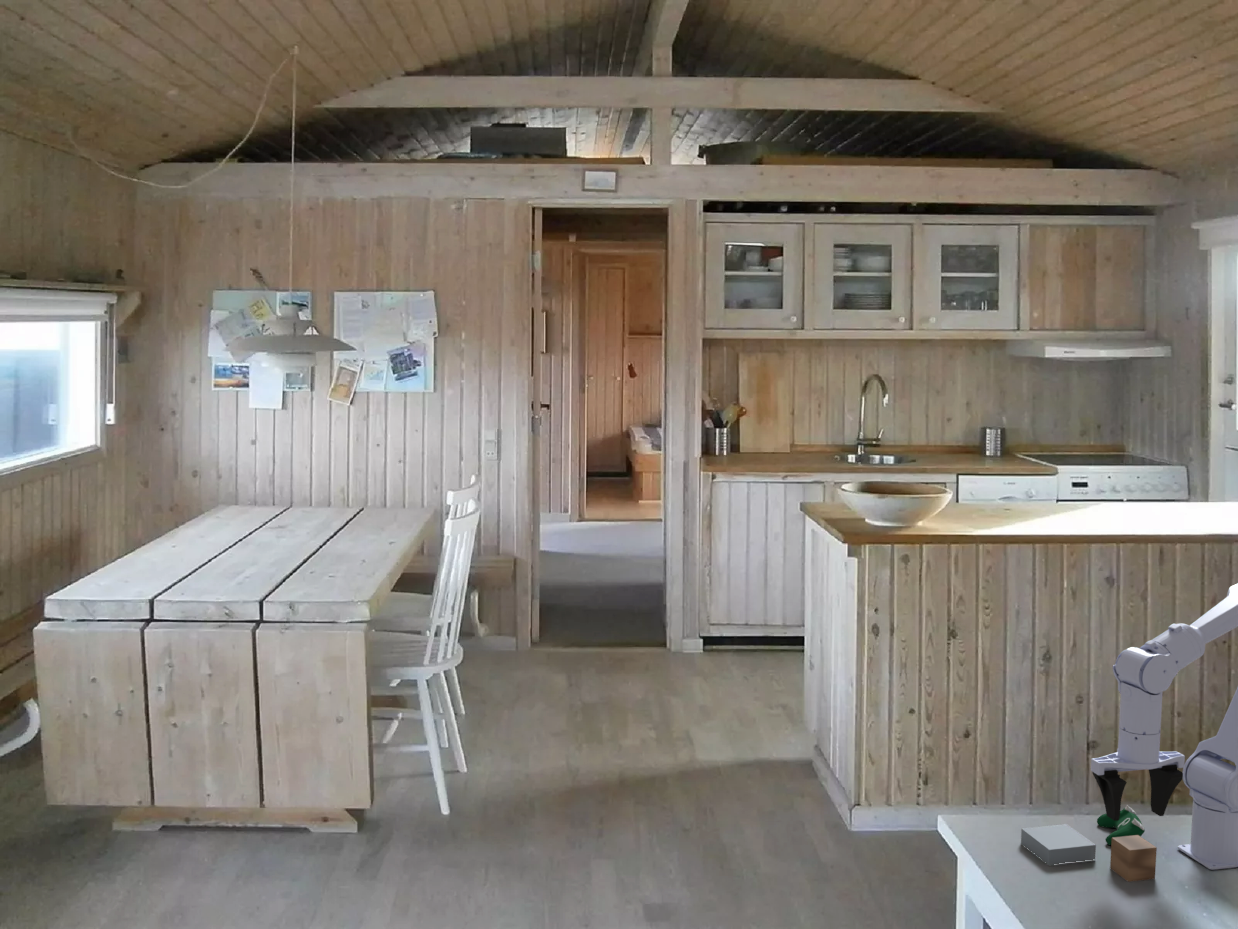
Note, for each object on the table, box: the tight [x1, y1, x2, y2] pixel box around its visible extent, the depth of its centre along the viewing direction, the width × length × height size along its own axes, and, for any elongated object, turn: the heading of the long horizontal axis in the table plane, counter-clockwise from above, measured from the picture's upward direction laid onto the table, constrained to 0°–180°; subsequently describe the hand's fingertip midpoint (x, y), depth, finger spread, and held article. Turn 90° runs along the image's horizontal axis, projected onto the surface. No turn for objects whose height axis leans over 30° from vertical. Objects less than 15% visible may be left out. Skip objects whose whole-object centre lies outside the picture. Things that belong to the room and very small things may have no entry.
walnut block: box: [1109, 835, 1158, 883], centre depth 182 cm, size 4×4×5 cm
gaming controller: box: [1096, 804, 1145, 846], centre depth 196 cm, size 9×4×6 cm
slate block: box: [1020, 823, 1097, 866], centre depth 190 cm, size 8×8×3 cm
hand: (1135, 815), depth 182 cm, fingers open, 7 cm apart
